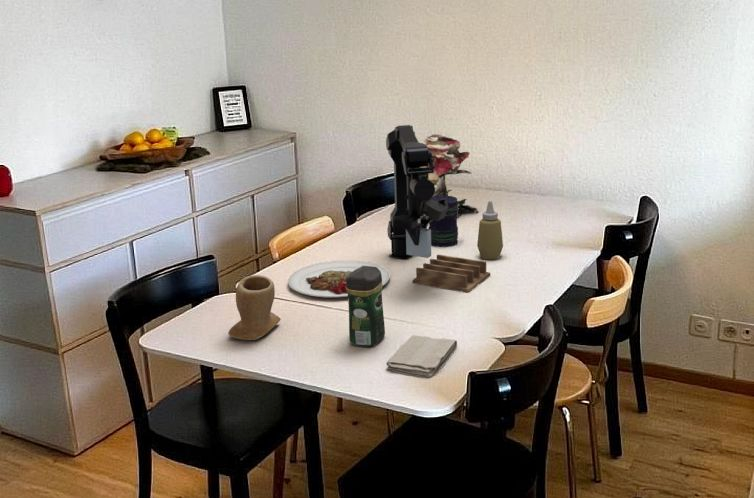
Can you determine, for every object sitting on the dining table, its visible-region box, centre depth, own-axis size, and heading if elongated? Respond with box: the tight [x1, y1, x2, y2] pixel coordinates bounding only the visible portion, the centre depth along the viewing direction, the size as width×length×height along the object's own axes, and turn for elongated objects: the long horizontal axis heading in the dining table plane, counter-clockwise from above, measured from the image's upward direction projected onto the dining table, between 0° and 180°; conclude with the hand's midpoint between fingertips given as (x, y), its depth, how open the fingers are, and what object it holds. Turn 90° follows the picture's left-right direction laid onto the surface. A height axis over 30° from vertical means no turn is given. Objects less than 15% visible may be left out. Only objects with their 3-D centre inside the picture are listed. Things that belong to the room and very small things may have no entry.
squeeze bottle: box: [476, 200, 504, 260], centre depth 262 cm, size 8×8×18 cm
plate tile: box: [406, 228, 432, 259], centre depth 239 cm, size 7×2×8 cm, turn 57°
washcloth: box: [386, 335, 458, 378], centre depth 198 cm, size 12×18×3 cm, turn 157°
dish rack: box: [411, 254, 491, 293], centre depth 246 cm, size 18×15×4 cm
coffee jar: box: [346, 266, 386, 348], centre depth 206 cm, size 10×8×19 cm
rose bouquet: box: [420, 133, 479, 218], centre depth 308 cm, size 26×29×30 cm
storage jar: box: [427, 195, 459, 248], centre depth 278 cm, size 10×10×15 cm
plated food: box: [287, 259, 391, 298], centre depth 248 cm, size 30×30×3 cm
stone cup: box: [227, 274, 281, 341], centre depth 215 cm, size 15×12×15 cm
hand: (418, 244), depth 239 cm, fingers closed on plate tile, 2 cm apart
